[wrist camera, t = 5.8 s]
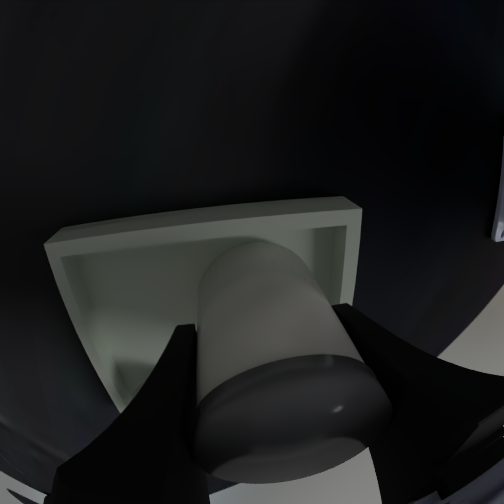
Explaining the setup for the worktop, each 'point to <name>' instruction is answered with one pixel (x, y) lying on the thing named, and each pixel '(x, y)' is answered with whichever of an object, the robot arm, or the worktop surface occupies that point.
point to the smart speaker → (47, 499)
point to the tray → (183, 272)
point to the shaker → (277, 373)
